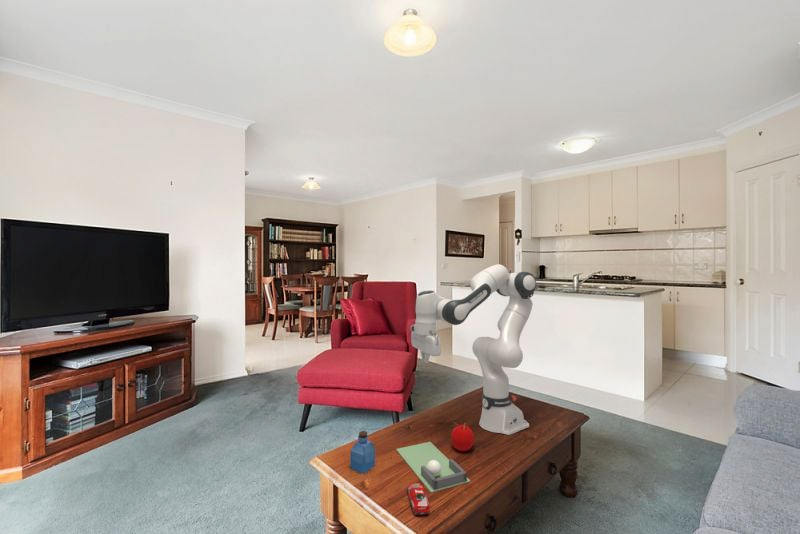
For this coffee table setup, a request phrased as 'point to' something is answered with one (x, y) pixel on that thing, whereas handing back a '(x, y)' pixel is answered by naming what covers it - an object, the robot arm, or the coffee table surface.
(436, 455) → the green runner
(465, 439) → the fruit
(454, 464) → the gray u-shaped frame
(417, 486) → the race car
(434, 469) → the ball
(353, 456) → the perfume bottle
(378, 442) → the coffee table surface
